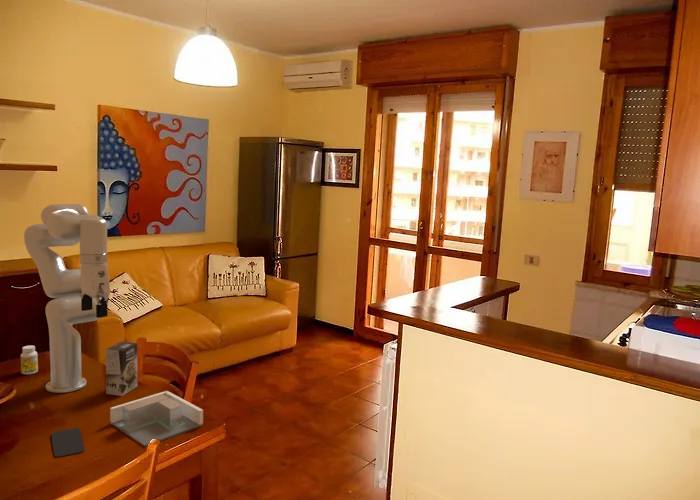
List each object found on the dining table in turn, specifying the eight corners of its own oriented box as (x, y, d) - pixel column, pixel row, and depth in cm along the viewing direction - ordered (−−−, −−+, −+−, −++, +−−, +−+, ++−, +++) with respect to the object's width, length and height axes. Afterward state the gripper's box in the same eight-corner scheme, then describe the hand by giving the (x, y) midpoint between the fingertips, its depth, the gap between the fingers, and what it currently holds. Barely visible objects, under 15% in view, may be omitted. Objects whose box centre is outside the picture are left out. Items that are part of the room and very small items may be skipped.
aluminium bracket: (162, 412, 171) (162, 394, 170) (181, 423, 164) (182, 404, 163) (122, 425, 161) (122, 406, 160) (141, 438, 154) (141, 418, 153)
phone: (54, 457, 142) (50, 432, 155) (54, 460, 143) (50, 435, 155) (85, 450, 146) (79, 427, 159) (85, 453, 146) (79, 429, 159)
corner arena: (110, 423, 163) (110, 407, 162) (167, 405, 178) (167, 390, 177) (144, 447, 150) (144, 430, 150) (202, 425, 165) (203, 409, 164)
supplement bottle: (41, 371, 201) (40, 346, 199) (28, 375, 196) (27, 350, 195) (31, 368, 203) (30, 343, 201) (17, 373, 198) (16, 347, 197)
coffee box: (122, 396, 182) (122, 350, 180) (105, 394, 184) (105, 348, 181) (138, 386, 191) (138, 342, 189) (122, 384, 192) (121, 340, 190)
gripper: (119, 262, 161) (120, 317, 163) (92, 253, 172) (93, 305, 174) (94, 264, 155) (95, 322, 158) (68, 255, 166) (69, 309, 169)
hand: (94, 313), depth 166 cm, fingers open, 9 cm apart
